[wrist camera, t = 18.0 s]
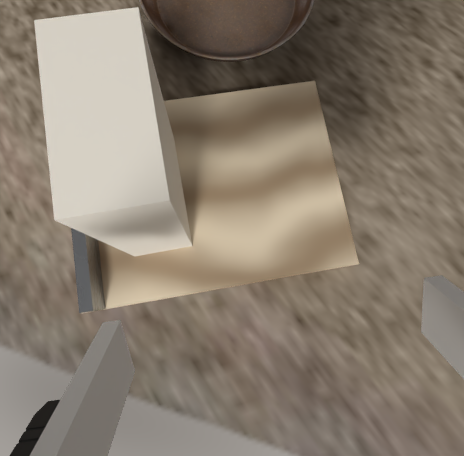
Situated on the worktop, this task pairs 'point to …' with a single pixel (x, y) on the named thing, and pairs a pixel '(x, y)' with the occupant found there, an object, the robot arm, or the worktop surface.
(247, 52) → the plant saucer
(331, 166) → the shelf board
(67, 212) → the carton
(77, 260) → the rail
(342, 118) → the worktop surface
